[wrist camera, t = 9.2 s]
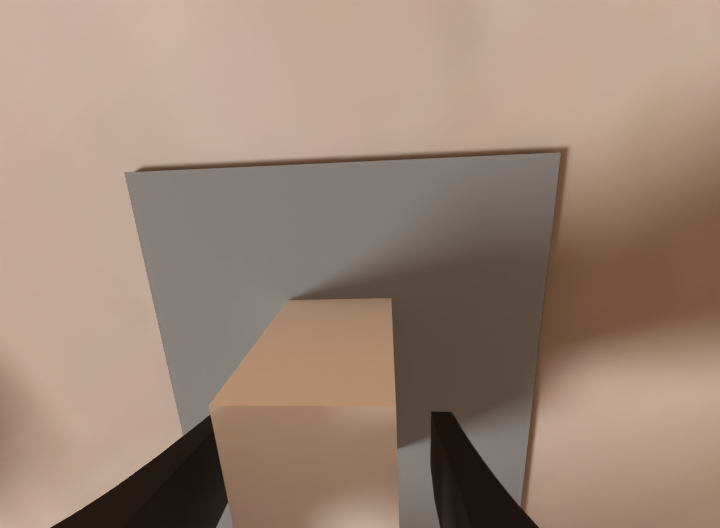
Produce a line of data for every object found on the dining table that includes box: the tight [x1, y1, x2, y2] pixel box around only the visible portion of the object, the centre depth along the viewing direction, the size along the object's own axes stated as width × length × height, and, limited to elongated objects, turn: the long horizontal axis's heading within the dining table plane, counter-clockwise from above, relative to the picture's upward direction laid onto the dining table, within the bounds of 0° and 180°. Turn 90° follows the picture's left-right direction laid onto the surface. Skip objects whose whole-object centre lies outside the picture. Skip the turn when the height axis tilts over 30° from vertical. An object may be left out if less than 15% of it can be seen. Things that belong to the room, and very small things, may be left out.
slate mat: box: [124, 152, 561, 528], centre depth 14 cm, size 17×15×1 cm
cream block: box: [209, 298, 399, 528], centre depth 11 cm, size 4×7×6 cm, turn 3°
